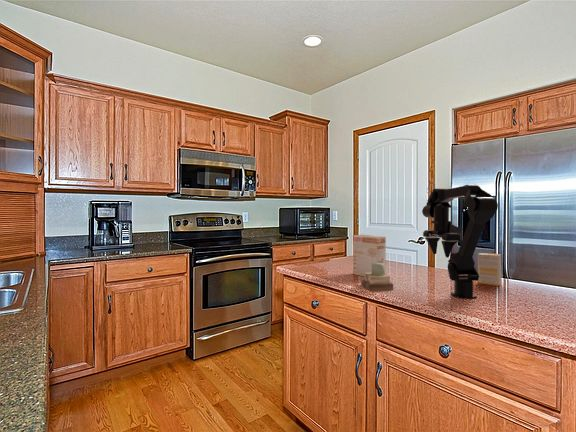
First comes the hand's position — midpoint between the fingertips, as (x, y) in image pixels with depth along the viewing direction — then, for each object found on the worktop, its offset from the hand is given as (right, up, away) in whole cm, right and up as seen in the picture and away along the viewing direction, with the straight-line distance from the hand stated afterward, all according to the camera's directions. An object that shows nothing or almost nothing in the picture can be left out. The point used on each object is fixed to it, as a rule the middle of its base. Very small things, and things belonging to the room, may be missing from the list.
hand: (440, 255), depth 141 cm
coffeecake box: (-25, -13, +23) cm, 36 cm away
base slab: (-27, -14, 0) cm, 30 cm away
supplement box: (+23, -13, +4) cm, 27 cm away
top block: (-27, -11, 0) cm, 29 cm away
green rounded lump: (-27, -8, 0) cm, 28 cm away
